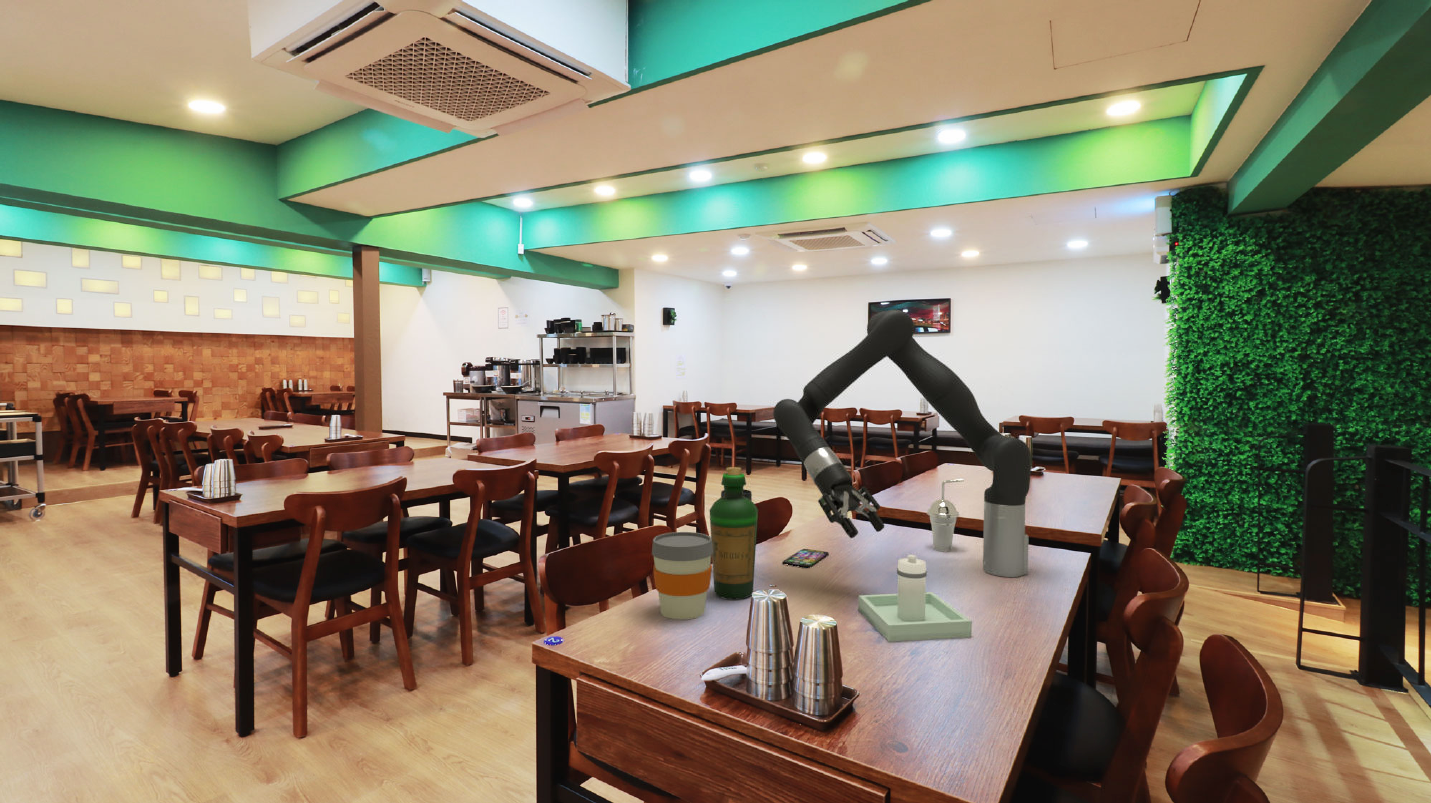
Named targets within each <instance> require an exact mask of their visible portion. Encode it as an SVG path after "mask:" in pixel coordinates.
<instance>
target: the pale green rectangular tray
mask: <svg viewBox="0 0 1431 803" xmlns="http://www.w3.org/2000/svg"><path fill="white" fill-rule="evenodd" d="M858 611H859V612H860V613H861V614H862V615H863V617H864V618H865V619H866V620H868V621H869V622H870V624H871V625H872V626H874V628H875V629H876V630H877V632H879V634H881V635H882V636H883V637H884V638H885V640H886V641H887V642H889V643H891V642H906V641H908V642H909V641H921V640H924V641H925V640H940V639H941V640H942V639H955V638H956V639H957V638H958V639H959V638H960V639H961V638H972V637H973V636H972V635H973V633H972V632H973V631H972V629H973V625H972V623H973V621H972V619H970V618H969V617H967V616H966V615H964V614H963V613H962V612H961V611H959V610H958V609H956V608H954V606H952V605H951V604H949V603H948V602H947V601H946V600H944V599H943V598H941V597H940V596H938V595H937V594H936V593H934V592H932V591H926V597H925V620H924V621H921V622H907V621H903V620H901V619H899V618H898V616H897V615H898V593H887V594H886V593H882V594H867V595H866V594H865V595H864V594H862V595H858Z"/></svg>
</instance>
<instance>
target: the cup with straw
mask: <svg viewBox="0 0 1431 803" xmlns="http://www.w3.org/2000/svg"><path fill="white" fill-rule="evenodd" d="M959 482H964V478H959V479H958V478H957V479H949V480H947V479H946V480H944V481H942V483H941V499H938V500H936V501H934V502H933V503H932V504H931V505H930V508H929V509H927V512H926V514H927V515H928V516H929V520H930V524H931V533H932V543H933V549H934V550H935V551H938V552H943V551H947V552H951V551H952V546H953V541H954V540H953V539H954V532H955V525H956V522H957V518H958V517H960V512H959V511H957V508H956V507H955V506H956V505H955V504H954V503H953V502H951V501H950V500H948V499H945V485H946V484H948V483H959Z"/></svg>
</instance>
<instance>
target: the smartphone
mask: <svg viewBox="0 0 1431 803" xmlns="http://www.w3.org/2000/svg"><path fill="white" fill-rule="evenodd" d="M826 556H827V557H828V556H829V552H828V551H823V550H816V549H809V548H803V549H800V550H798V551H796V552H795V553H794V554H792V555H790V556H789V557H787V558H786V559H784V560H782V565H783V564H788V565H793V566H792V567H794V566H799V567H798V568H800V567H802V569H811V568H812V567H814V566H815V565H817V564H818V563H820V562H821V561H823V560H824V559H825V558H827V557H826ZM822 559H823V560H822ZM819 561H820V562H819ZM788 565H787V566H788ZM810 567H811V568H810Z"/></svg>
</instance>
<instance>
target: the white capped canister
mask: <svg viewBox="0 0 1431 803" xmlns="http://www.w3.org/2000/svg"><path fill="white" fill-rule="evenodd" d="M927 572H928V571H927V562H926V560H922V559H920V558H917V555H915V554H907V557H904V558H903V557H902V558H900V559H898V560H897V571H896V573H897V594H898V615H897V616H898V618H899V619H901V620H903V621H907V622H921V621H924V620H925V597H926V592H927V590H926V589H927V587H926V586H927V585H926V584H927V579H926V578H927V574H928V573H927Z"/></svg>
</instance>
